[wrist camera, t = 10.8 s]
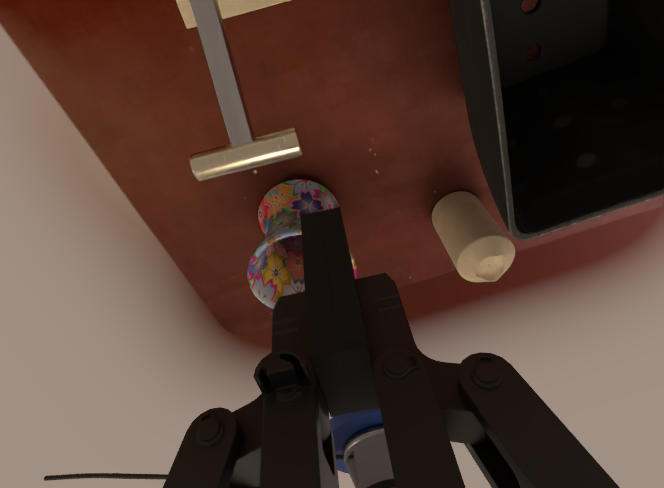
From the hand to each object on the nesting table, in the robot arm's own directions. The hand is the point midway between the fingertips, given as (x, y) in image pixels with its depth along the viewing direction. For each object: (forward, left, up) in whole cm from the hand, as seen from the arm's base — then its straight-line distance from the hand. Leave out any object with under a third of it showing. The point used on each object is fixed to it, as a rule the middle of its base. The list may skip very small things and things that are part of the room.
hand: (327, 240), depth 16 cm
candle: (+7, -20, -25) cm, 33 cm away
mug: (-8, -13, -25) cm, 29 cm away
